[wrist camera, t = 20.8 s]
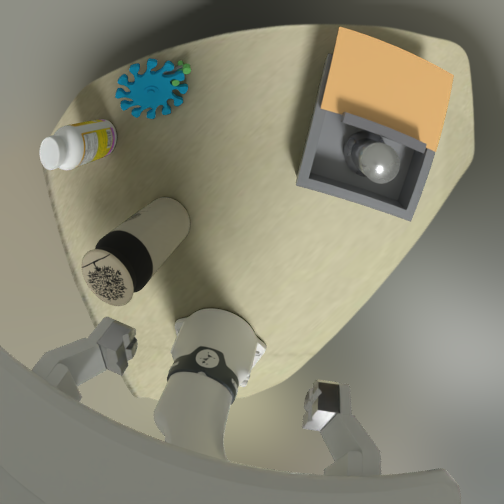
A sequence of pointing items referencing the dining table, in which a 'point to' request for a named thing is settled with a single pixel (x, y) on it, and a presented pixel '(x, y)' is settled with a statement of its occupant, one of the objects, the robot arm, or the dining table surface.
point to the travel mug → (135, 251)
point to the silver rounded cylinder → (371, 157)
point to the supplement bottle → (78, 144)
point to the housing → (344, 179)
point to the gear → (153, 87)
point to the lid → (387, 91)
